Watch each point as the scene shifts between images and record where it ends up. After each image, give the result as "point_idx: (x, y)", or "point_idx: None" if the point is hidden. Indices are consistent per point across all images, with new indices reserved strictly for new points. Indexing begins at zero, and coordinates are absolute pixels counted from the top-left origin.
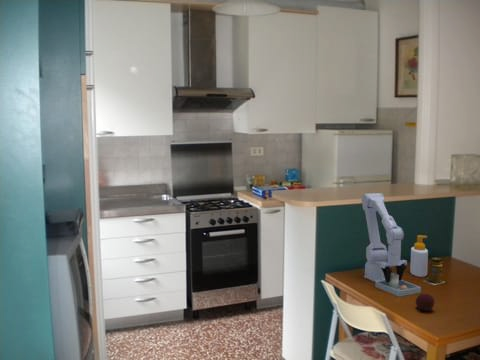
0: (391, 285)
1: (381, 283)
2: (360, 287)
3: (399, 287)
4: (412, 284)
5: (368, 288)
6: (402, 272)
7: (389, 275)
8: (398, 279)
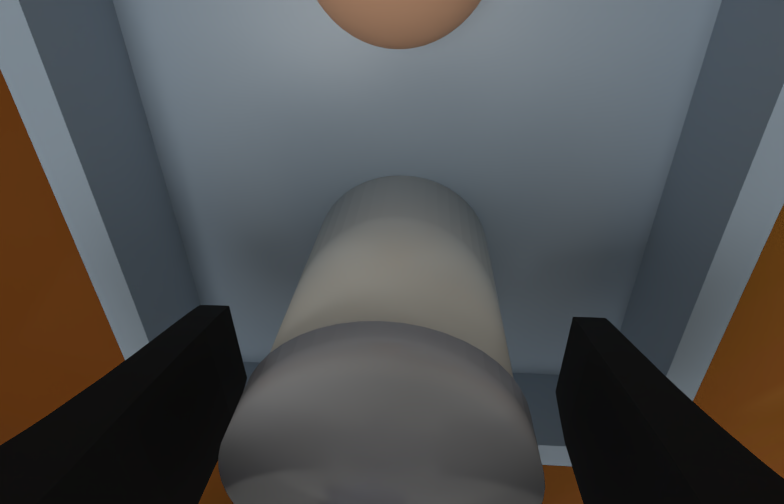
0: (489, 267)
1: (537, 413)
2: (771, 465)
3: (288, 221)
4: (11, 16)
5: (726, 406)
6: (39, 468)
7: (750, 480)
8: (315, 300)
